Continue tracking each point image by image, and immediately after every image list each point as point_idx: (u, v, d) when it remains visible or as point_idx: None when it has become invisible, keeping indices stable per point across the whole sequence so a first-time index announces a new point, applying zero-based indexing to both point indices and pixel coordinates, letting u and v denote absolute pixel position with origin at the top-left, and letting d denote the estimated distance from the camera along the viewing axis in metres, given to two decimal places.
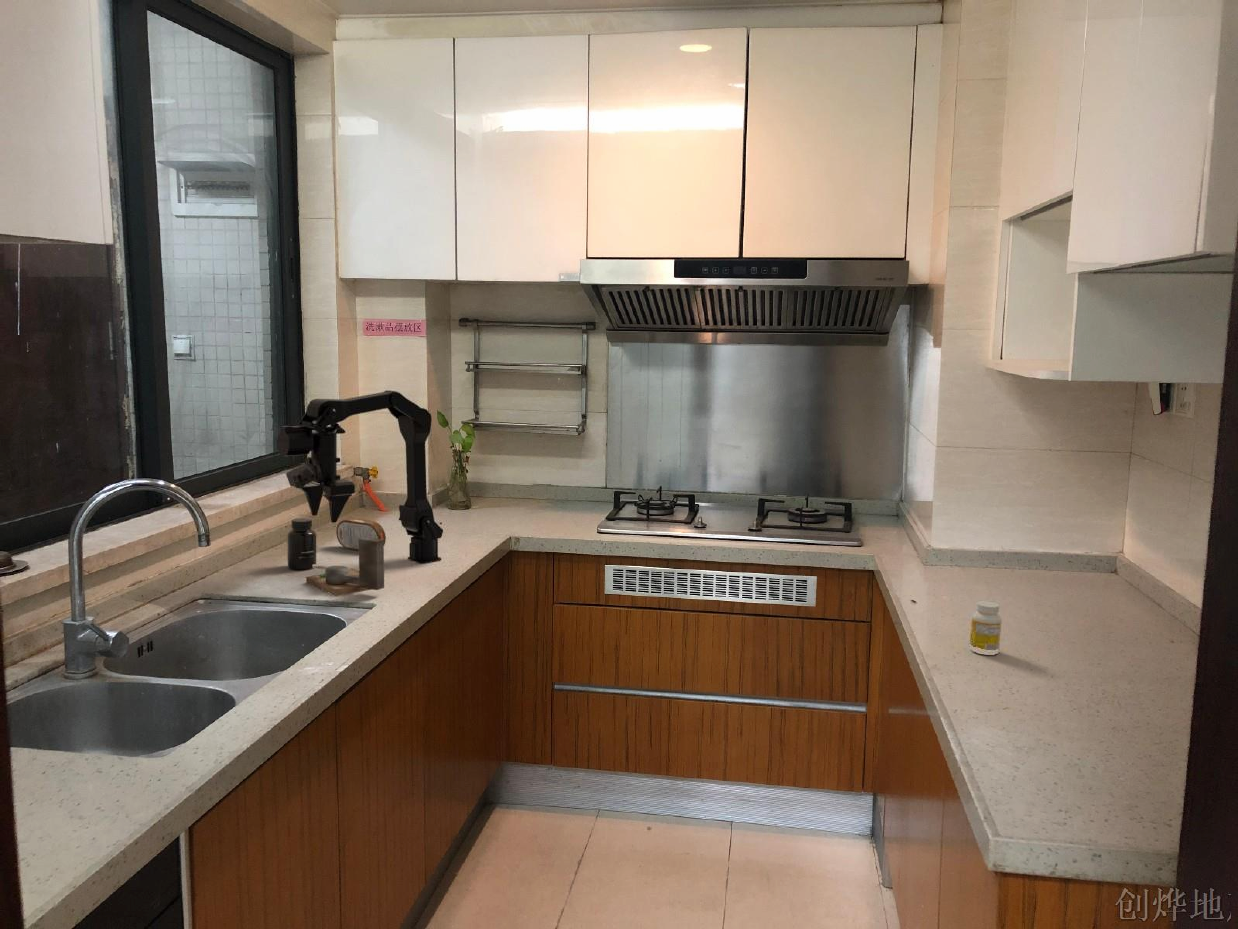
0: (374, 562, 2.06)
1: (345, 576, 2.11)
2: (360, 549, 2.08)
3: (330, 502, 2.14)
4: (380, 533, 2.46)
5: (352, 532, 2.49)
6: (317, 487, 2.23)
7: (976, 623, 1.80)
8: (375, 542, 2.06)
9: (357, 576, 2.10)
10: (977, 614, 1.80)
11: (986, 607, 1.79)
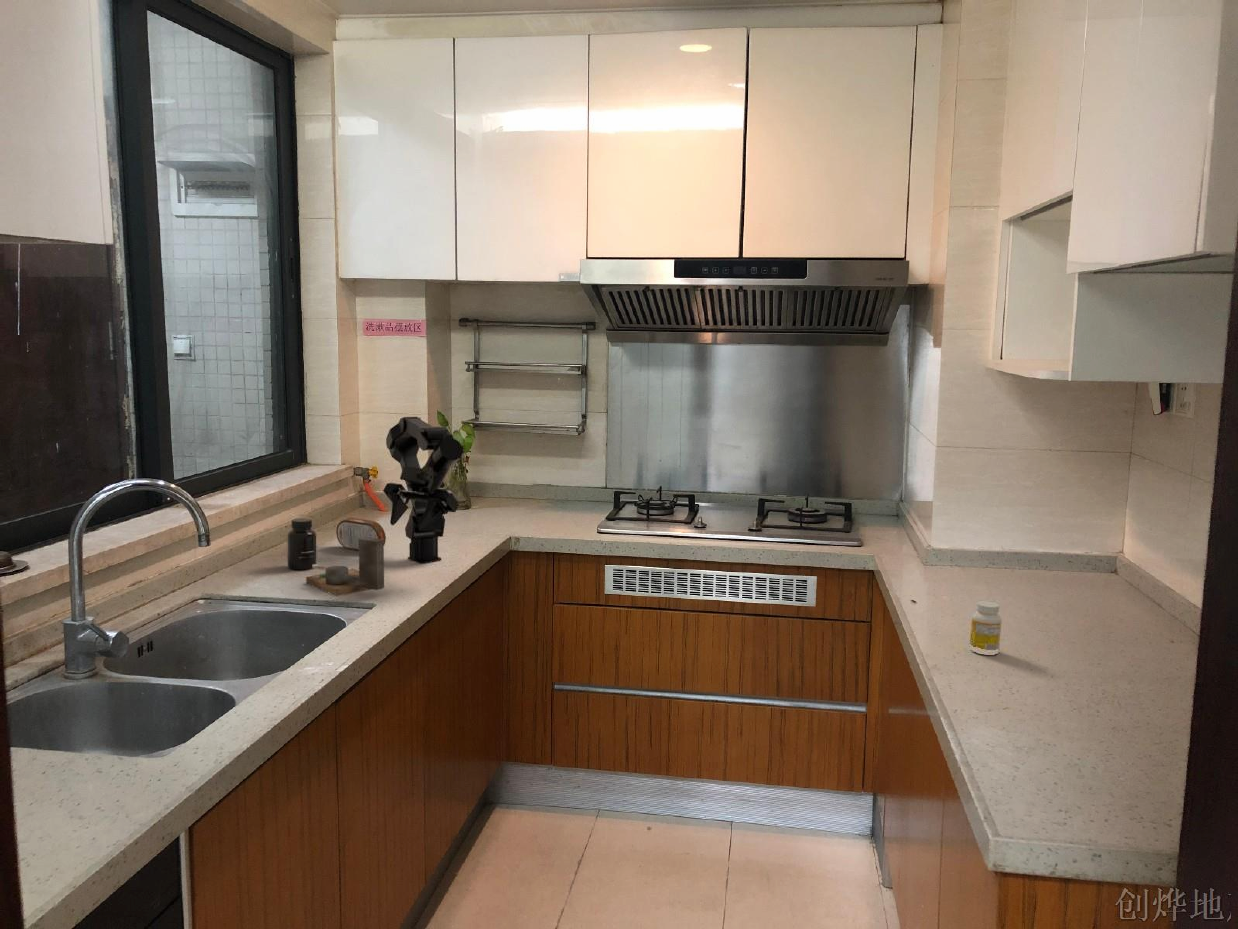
0: (374, 562, 2.06)
1: (345, 576, 2.11)
2: (360, 549, 2.08)
3: (429, 507, 2.18)
4: (380, 533, 2.46)
5: (352, 532, 2.49)
6: (404, 504, 2.25)
7: (976, 623, 1.80)
8: (375, 542, 2.06)
9: (357, 576, 2.10)
10: (977, 614, 1.80)
11: (986, 607, 1.79)
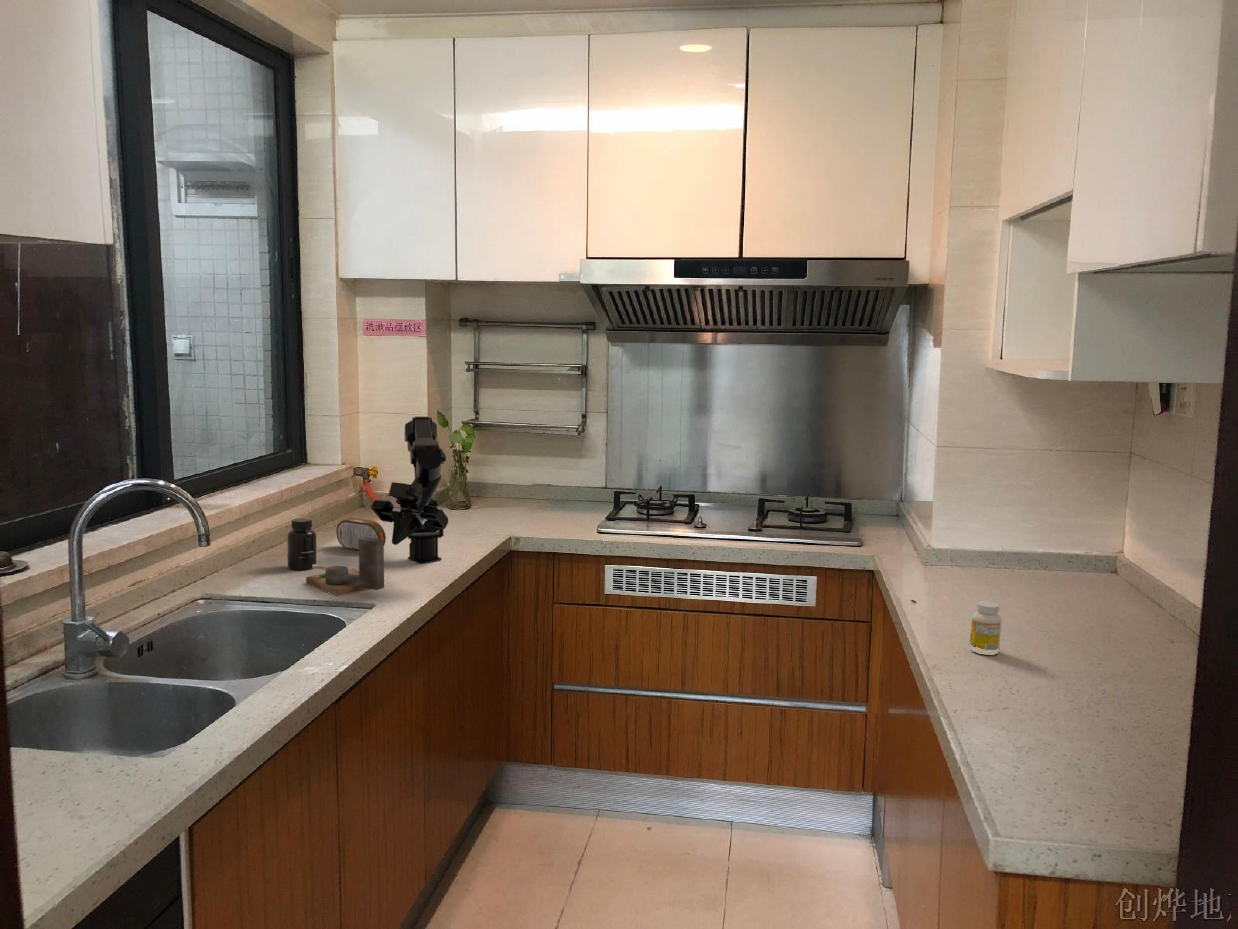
0: (374, 562, 2.06)
1: (345, 576, 2.11)
2: (360, 549, 2.08)
3: (405, 522, 2.16)
4: (380, 533, 2.46)
5: (352, 532, 2.49)
6: None
7: (976, 623, 1.80)
8: (375, 542, 2.06)
9: (357, 576, 2.10)
10: (977, 614, 1.80)
11: (986, 607, 1.79)
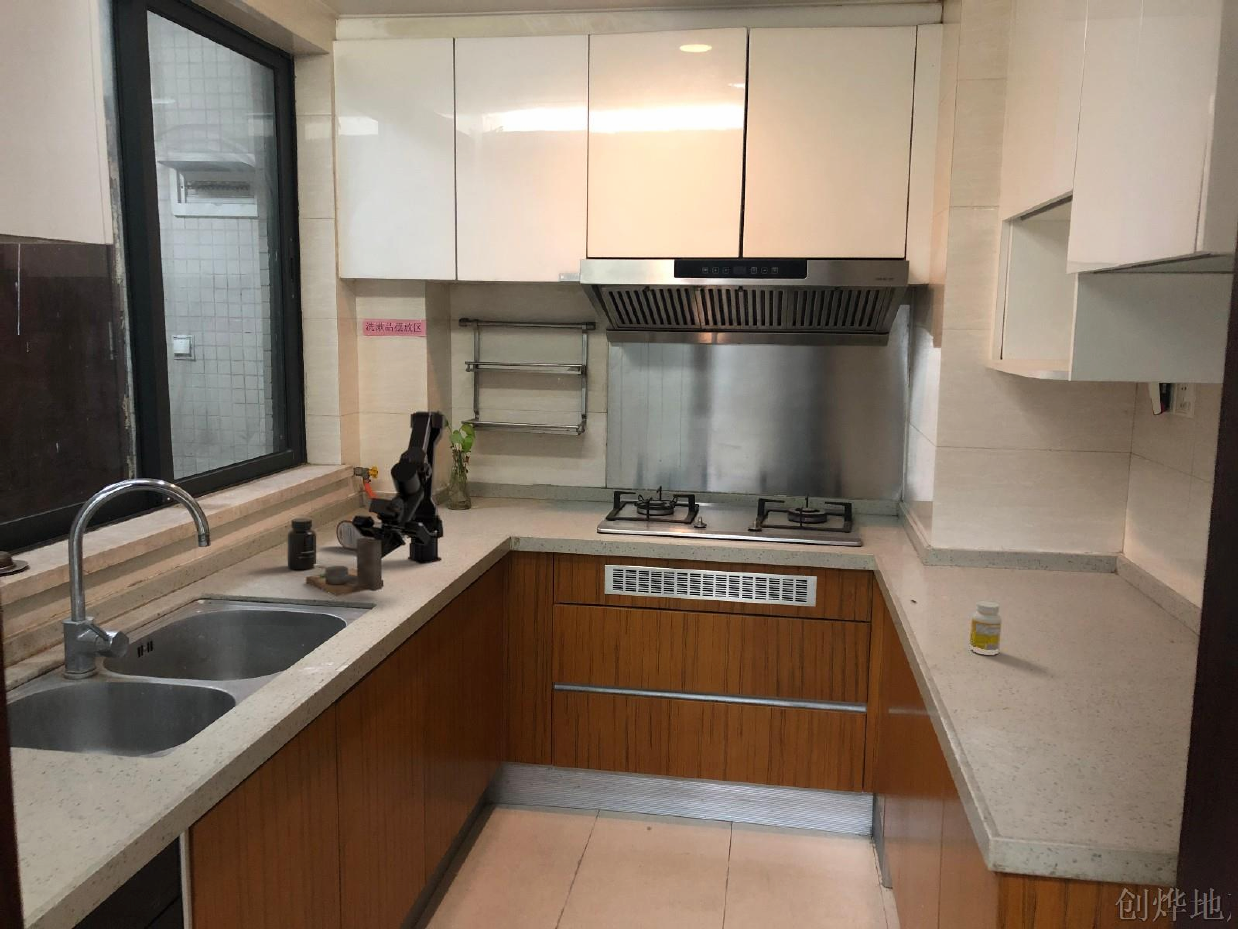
0: (371, 563, 2.06)
1: (344, 576, 2.11)
2: (358, 549, 2.07)
3: (386, 539, 2.10)
4: None
5: (352, 532, 2.49)
6: None
7: (976, 623, 1.80)
8: (372, 543, 2.05)
9: (356, 576, 2.10)
10: (977, 614, 1.80)
11: (986, 607, 1.79)
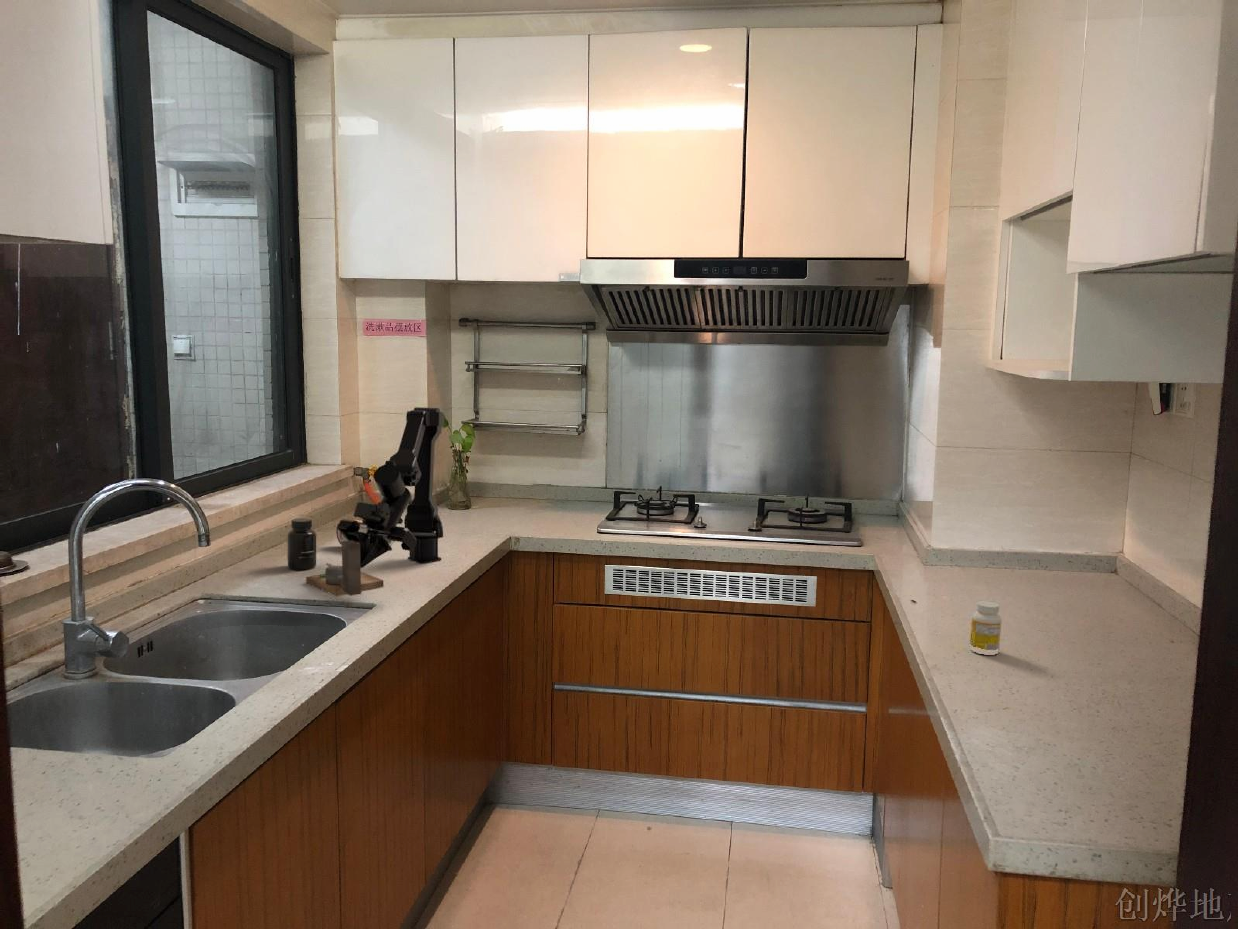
0: (348, 567, 2.02)
1: (338, 577, 2.10)
2: (342, 552, 2.05)
3: (372, 544, 2.06)
4: None
5: None
6: None
7: (976, 623, 1.80)
8: (348, 546, 2.01)
9: None
10: (977, 614, 1.80)
11: (986, 607, 1.79)
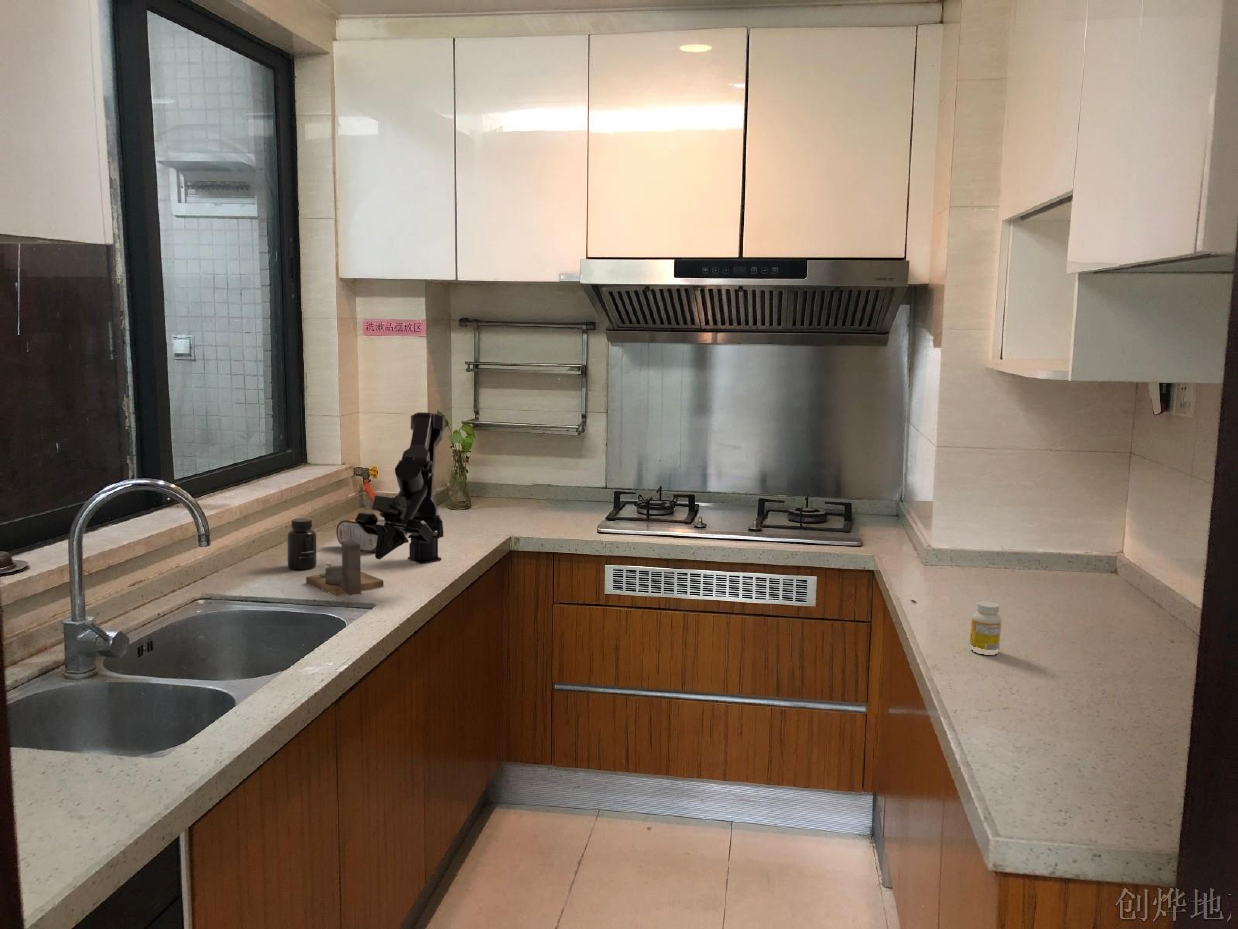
0: (348, 567, 2.02)
1: (338, 577, 2.10)
2: (342, 552, 2.05)
3: (389, 536, 2.11)
4: None
5: (352, 532, 2.49)
6: None
7: (976, 623, 1.80)
8: (348, 546, 2.01)
9: None
10: (977, 614, 1.80)
11: (986, 607, 1.79)
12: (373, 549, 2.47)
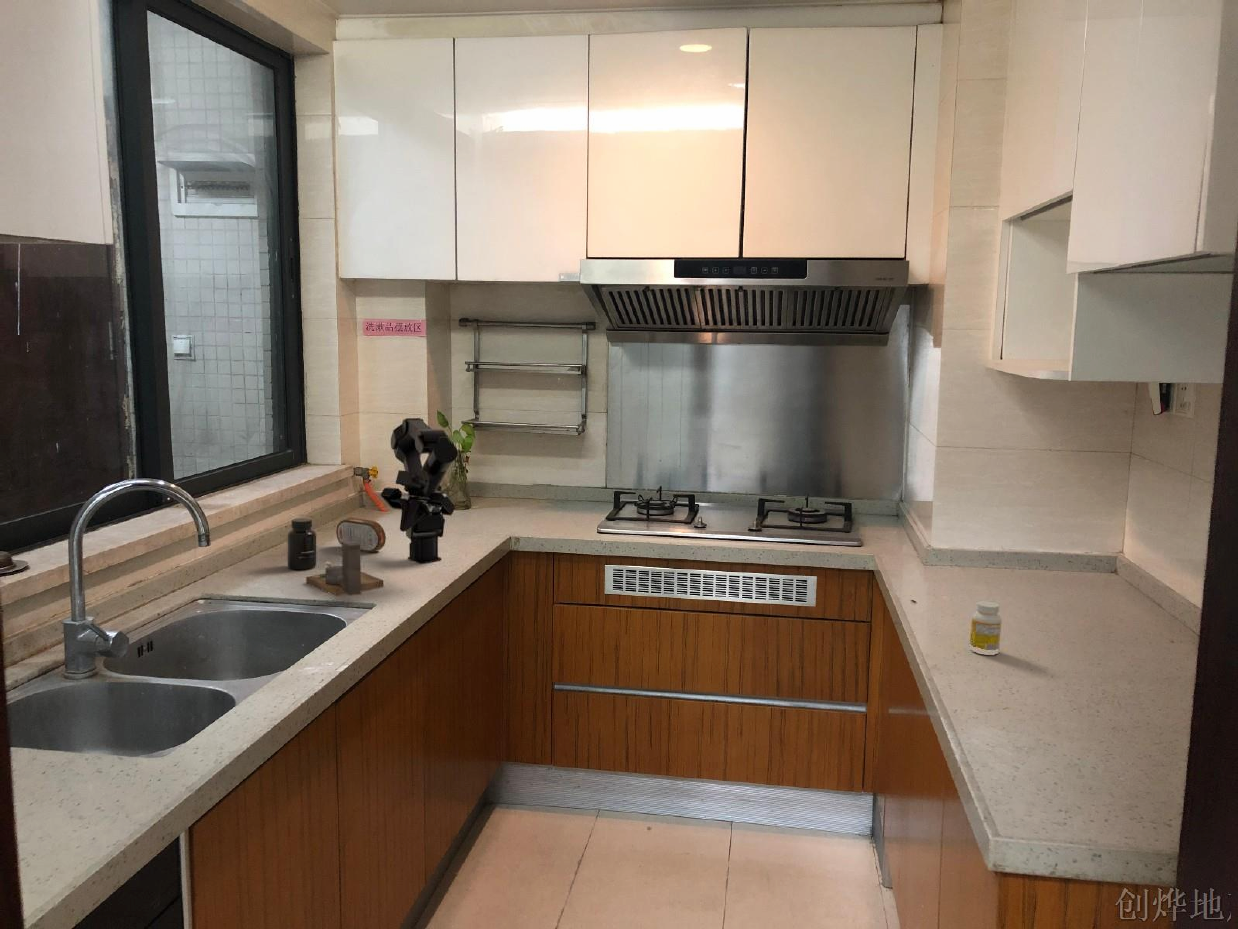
0: (348, 567, 2.02)
1: (338, 577, 2.10)
2: (342, 552, 2.05)
3: (412, 509, 2.20)
4: (380, 533, 2.46)
5: (352, 532, 2.49)
6: None
7: (976, 623, 1.80)
8: (348, 546, 2.01)
9: None
10: (977, 614, 1.80)
11: (986, 607, 1.79)
12: (373, 549, 2.47)
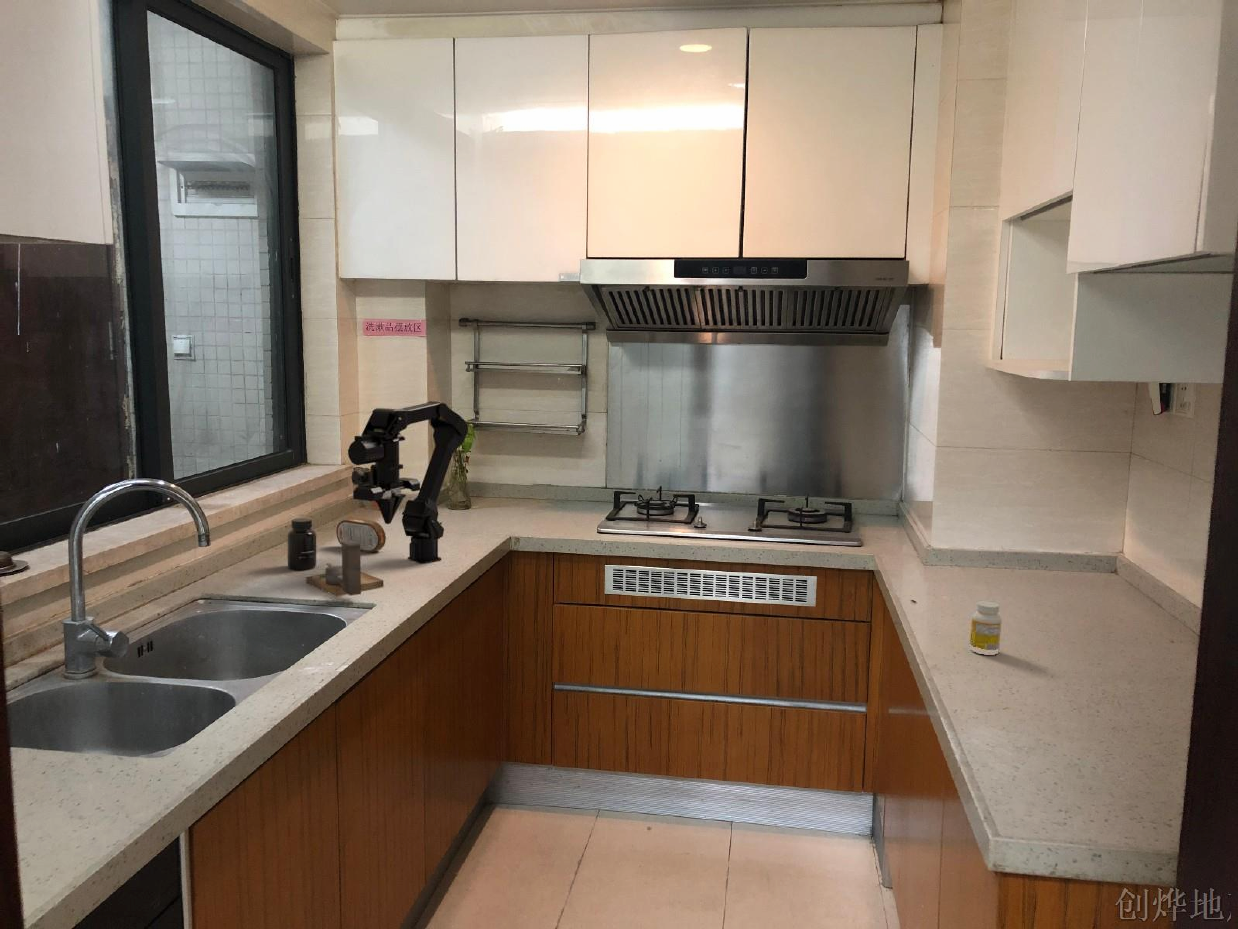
0: (348, 567, 2.02)
1: (338, 577, 2.10)
2: (342, 552, 2.05)
3: None
4: (380, 533, 2.46)
5: (352, 532, 2.49)
6: (393, 497, 2.27)
7: (976, 623, 1.80)
8: (348, 546, 2.01)
9: None
10: (977, 614, 1.80)
11: (986, 607, 1.79)
12: (373, 549, 2.47)
